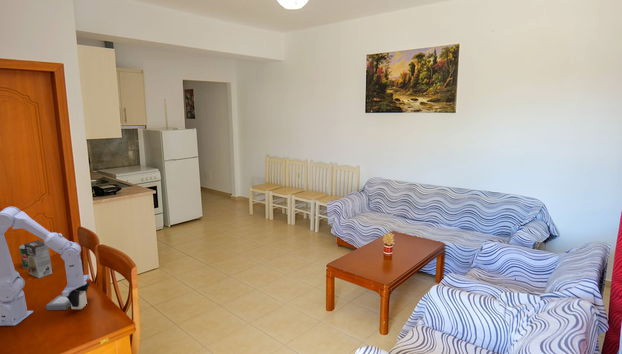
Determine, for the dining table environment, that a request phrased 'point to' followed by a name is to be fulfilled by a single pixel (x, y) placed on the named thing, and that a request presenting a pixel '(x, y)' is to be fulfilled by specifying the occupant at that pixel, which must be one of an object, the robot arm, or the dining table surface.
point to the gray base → (59, 303)
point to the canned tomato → (23, 256)
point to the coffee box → (38, 258)
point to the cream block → (81, 300)
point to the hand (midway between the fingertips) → (79, 303)
